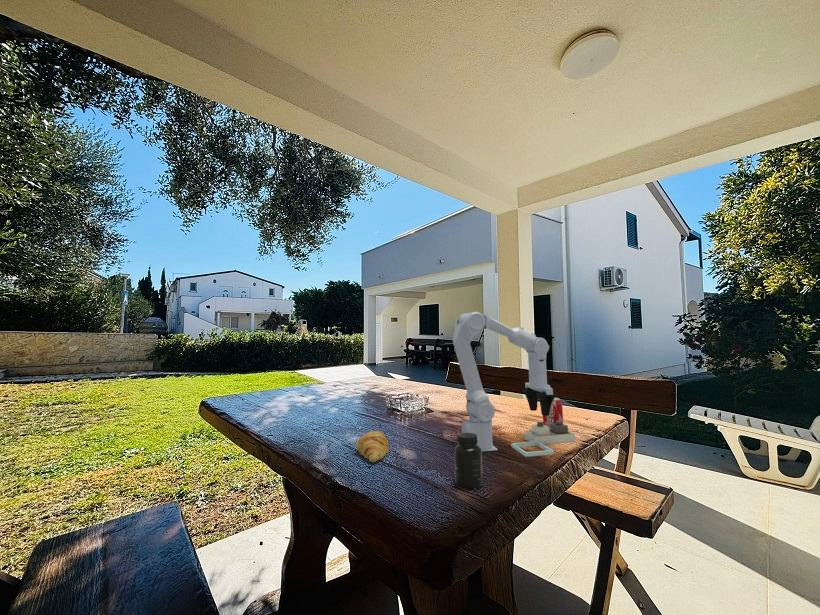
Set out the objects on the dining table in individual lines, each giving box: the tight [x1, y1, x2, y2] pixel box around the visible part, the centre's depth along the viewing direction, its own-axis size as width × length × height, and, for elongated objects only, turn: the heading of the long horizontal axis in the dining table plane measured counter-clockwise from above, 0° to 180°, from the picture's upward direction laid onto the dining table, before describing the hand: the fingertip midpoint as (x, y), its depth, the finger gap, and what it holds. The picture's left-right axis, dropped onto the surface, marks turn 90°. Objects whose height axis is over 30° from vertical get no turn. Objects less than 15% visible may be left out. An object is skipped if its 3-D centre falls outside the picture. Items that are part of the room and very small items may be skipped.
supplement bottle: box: [453, 432, 484, 490], centre depth 89 cm, size 7×7×12 cm
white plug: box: [531, 421, 549, 436], centre depth 121 cm, size 4×4×6 cm
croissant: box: [355, 430, 390, 463], centre depth 114 cm, size 21×10×8 cm, turn 9°
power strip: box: [523, 429, 576, 445], centre depth 121 cm, size 14×7×3 cm, turn 100°
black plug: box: [550, 420, 569, 434], centre depth 122 cm, size 4×4×6 cm
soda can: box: [542, 396, 564, 429], centre depth 134 cm, size 7×7×12 cm
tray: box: [510, 441, 555, 457], centre depth 111 cm, size 9×9×2 cm
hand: (539, 412), depth 121 cm, fingers open, 7 cm apart
